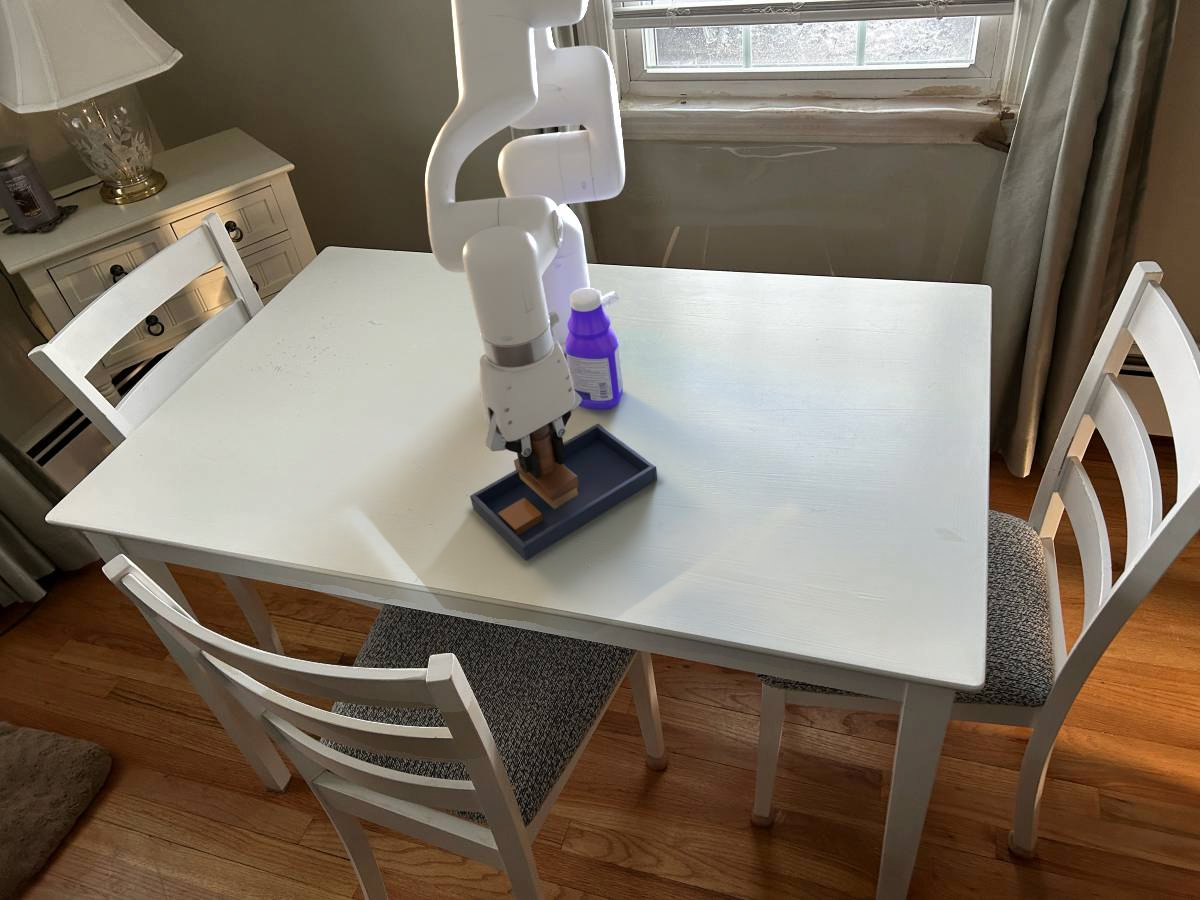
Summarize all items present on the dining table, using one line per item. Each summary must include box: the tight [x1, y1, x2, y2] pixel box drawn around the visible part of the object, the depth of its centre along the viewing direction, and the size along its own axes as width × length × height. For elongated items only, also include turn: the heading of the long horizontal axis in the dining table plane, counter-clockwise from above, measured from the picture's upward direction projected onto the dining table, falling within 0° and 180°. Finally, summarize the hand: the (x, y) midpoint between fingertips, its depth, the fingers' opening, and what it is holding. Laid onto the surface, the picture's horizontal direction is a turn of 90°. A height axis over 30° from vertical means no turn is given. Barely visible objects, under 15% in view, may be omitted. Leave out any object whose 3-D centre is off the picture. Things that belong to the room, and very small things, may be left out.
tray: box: [469, 423, 658, 562], centre depth 114 cm, size 20×12×3 cm, turn 127°
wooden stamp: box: [513, 423, 579, 509], centre depth 109 cm, size 4×8×11 cm, turn 37°
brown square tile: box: [498, 498, 543, 536], centre depth 111 cm, size 4×4×1 cm
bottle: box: [565, 287, 624, 410], centre depth 124 cm, size 7×6×17 cm
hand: (543, 464), depth 110 cm, fingers closed on wooden stamp, 2 cm apart
